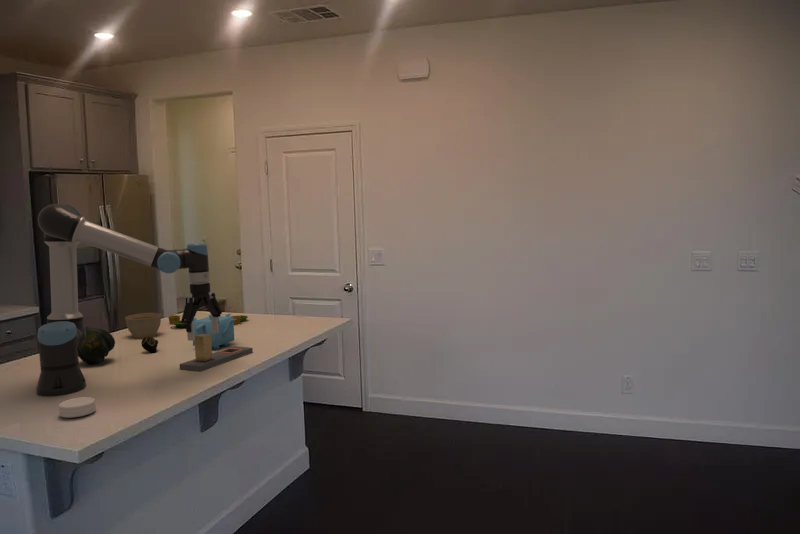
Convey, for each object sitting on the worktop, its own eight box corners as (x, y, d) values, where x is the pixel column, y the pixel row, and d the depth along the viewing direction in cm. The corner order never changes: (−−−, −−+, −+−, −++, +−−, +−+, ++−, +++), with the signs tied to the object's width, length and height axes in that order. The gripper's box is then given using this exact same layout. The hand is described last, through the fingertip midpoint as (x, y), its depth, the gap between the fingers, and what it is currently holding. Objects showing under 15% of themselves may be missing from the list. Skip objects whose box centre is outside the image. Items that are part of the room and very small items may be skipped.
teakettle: (196, 353, 260) (194, 319, 258) (190, 345, 277) (188, 313, 275) (240, 348, 268) (239, 315, 267) (232, 340, 285) (230, 309, 284)
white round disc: (58, 411, 187) (57, 400, 186) (94, 405, 192) (93, 394, 192) (60, 420, 178) (59, 409, 178) (97, 413, 184) (96, 402, 183)
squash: (75, 369, 238) (72, 331, 236) (79, 361, 251) (76, 325, 250) (114, 365, 243) (112, 328, 242) (117, 357, 257) (114, 322, 255)
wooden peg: (204, 367, 236) (203, 336, 235) (196, 366, 238) (194, 336, 237) (212, 364, 240) (210, 334, 239) (203, 363, 242) (202, 333, 241)
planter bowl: (123, 337, 298) (121, 315, 297) (157, 333, 308) (155, 311, 307) (131, 342, 285) (129, 320, 284) (166, 337, 295) (165, 315, 294)
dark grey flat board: (200, 371, 230) (199, 365, 229) (179, 369, 234) (179, 363, 233) (252, 352, 259) (252, 347, 258) (233, 350, 263) (233, 345, 262)
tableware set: (157, 332, 312) (156, 320, 311) (177, 322, 340) (176, 311, 339) (237, 330, 312) (236, 318, 311) (250, 320, 339) (250, 309, 339)
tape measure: (152, 355, 263) (157, 350, 262) (138, 348, 260) (143, 342, 259) (155, 346, 269) (160, 340, 268) (141, 338, 265) (146, 333, 264)
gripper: (183, 287, 223) (188, 344, 225) (228, 279, 246) (232, 330, 248) (168, 287, 226) (172, 343, 228) (213, 278, 249) (217, 329, 251)
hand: (203, 336), depth 238 cm, fingers open, 13 cm apart
